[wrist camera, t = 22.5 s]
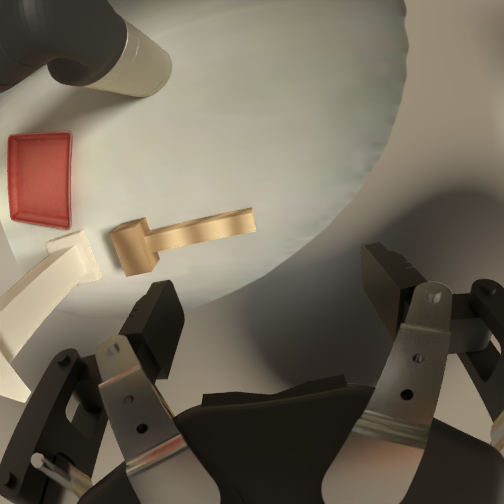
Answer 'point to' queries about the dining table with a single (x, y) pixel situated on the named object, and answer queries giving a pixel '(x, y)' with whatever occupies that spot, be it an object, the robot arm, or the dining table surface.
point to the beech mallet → (173, 237)
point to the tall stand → (40, 301)
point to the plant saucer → (40, 178)
